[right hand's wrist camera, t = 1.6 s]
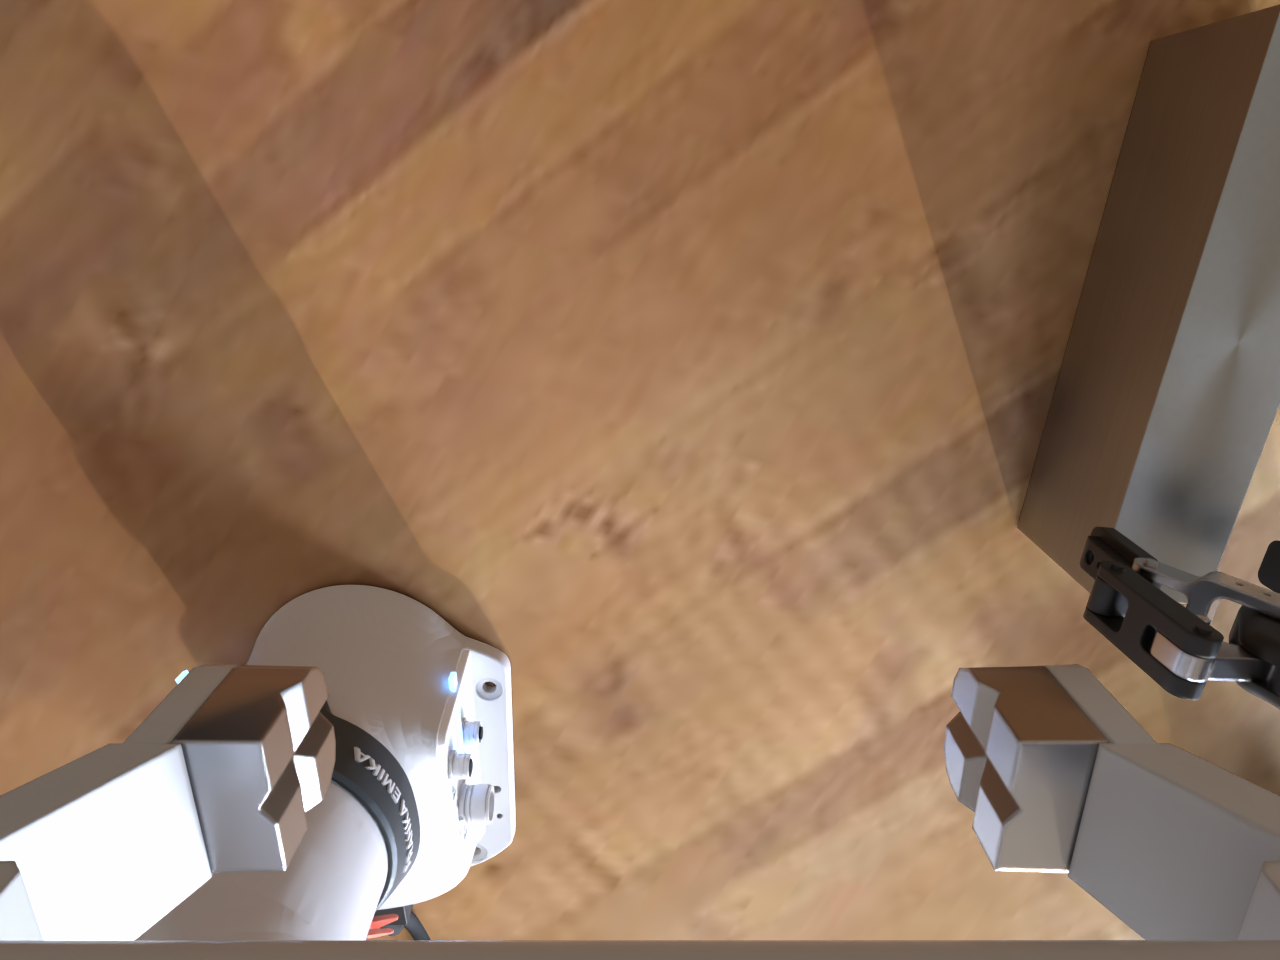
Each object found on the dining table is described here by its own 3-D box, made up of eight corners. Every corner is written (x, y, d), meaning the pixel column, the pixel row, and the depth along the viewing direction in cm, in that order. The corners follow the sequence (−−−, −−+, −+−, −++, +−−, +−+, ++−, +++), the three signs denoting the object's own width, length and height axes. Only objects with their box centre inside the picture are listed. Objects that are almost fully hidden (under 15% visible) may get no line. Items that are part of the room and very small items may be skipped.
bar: (1150, 40, 39) (1282, 3, 31) (1264, 53, 40) (1424, 18, 32) (1016, 527, 48) (1092, 596, 40) (1110, 535, 48) (1204, 605, 40)
